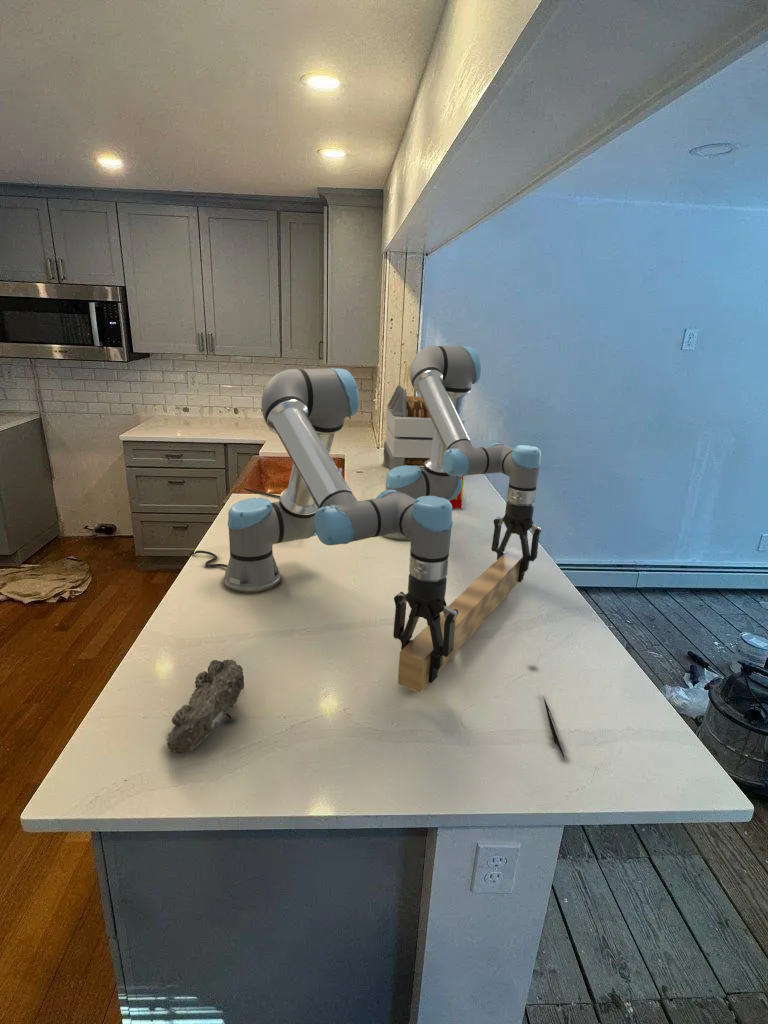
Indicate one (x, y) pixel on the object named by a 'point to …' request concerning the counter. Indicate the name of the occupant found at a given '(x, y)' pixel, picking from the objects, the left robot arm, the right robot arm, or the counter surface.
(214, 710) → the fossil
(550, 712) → the feather
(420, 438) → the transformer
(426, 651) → the post
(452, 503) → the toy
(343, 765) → the counter surface
